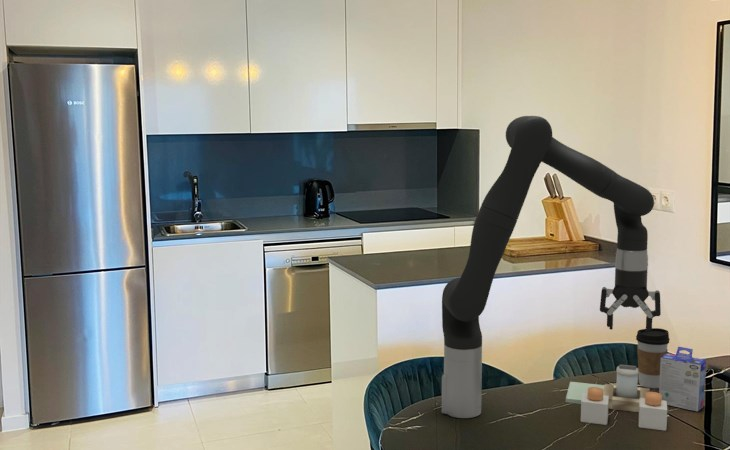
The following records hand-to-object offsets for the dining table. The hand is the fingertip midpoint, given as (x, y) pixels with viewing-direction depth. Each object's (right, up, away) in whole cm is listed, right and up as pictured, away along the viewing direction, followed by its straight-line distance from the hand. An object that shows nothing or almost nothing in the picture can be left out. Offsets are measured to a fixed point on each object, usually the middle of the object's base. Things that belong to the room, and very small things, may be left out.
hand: (629, 330), depth 185 cm
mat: (-9, -18, +8) cm, 22 cm away
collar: (0, -19, +3) cm, 19 cm away
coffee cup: (+11, -17, +15) cm, 26 cm away
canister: (0, -19, +3) cm, 19 cm away
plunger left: (-11, -19, -7) cm, 23 cm away
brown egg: (+2, -19, -11) cm, 22 cm away
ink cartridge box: (+13, -19, +1) cm, 23 cm away
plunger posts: (-5, -20, -9) cm, 23 cm away
